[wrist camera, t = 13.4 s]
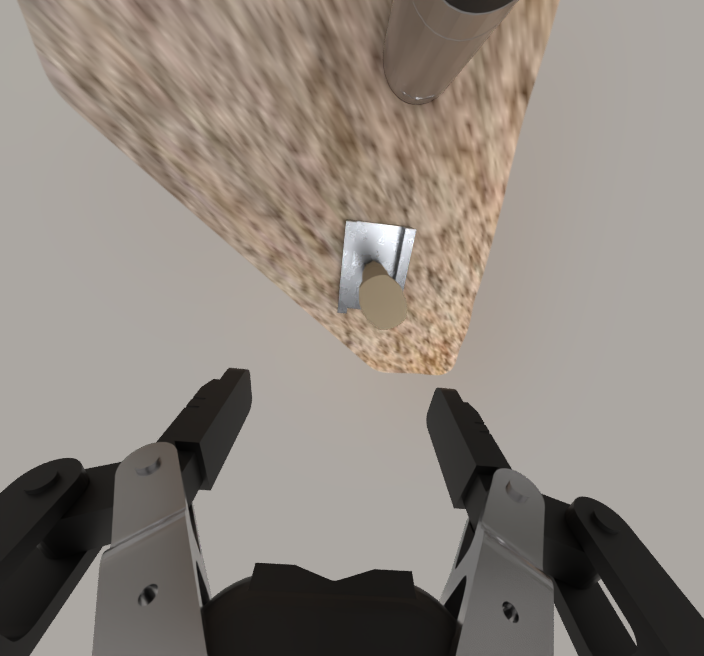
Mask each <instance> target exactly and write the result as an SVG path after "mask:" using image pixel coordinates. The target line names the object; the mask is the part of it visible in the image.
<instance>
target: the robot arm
mask: <svg viewBox="0 0 704 656" xmlns="http://www.w3.org/2000/svg"><path fill="white" fill-rule="evenodd" d="M518 1H519V0H393V4H392V9H391V13H390V18H389V22H388V27H387V32H386V37H385V43H384V50H383V65H384V71H385V76H386V78H387V81H388V84H389V86H390V87H391V89H392V90H393V92H394V93H395V94H396V95H397V96H398V97H399V98H400V99H402V100H403V101H405V102H407V103H411V104H423V103H427V102H430V101H432V100H433V99H435V98H437V97H438V96H439V95H440V94H441V93H442V92H443V91H444V90H445V89H446V88H447V87H448V85H449V84H450V83H451V82H452V81H453V79H454V78H455V77H456V76H457V75H458V74H459V72H460V71H461V70H462V69H463V68H464V66H465V65H466V64H467V63H468V62H469V60H470V59H471V58H472V57H473V55H474V54H475V53H476V52H477V51H478V49H479V48H480V47H481V46H482V45H483V43H484V42H485V41H486V40H487V38H488V37H489V36H490V35H491V34H492V32H493V31H494V30H495V29H496V28H497V26H498V25H499V24H500V23H501V22H502V20H503V19H504V18H505V17H506V15H507V14H508V13H509V12H510V10H511V9H512V8H513V7H514V5H515V4H516V3H517V2H518ZM251 403H252V392H251V380H250V372H249V370H246V369H237V368H229V369H227V371H226V372H225V373H224V375H223V376H222V377H221V379H220V380H219V379H213V380H211V381H210V382H208V383H207V384H205V385H204V386H202V387H201V388H200V389H199V391H198V392H197V393H196V394H195V396H194V397H193V399H192V400H191V401H190V402H189V403H188V404H187V406H186V408H184V409H183V410H182V411H181V413H180V414H179V415H178V416H177V418H176V419H175V420H174V421H173V422H172V424H171V425H170V426H169V427H168V429H167V430H166V431H165V432H164V433H163V435H162V436H161V437H160V438H159V440H158V441H157V442H156V443H151V444H148V445H145V446H143V447H141V448H139V449H137V450H136V451H134V452H132V453H131V454H130V455H129V456H127V457H126V458H125V459H124V460H123V461H122V462H119V463H114V464H109V465H103V466H98V467H94V468H89V469H84V468H83V466H82V464H81V463H80V461H78V460H77V459H74V458H62V459H57V460H53V461H50V462H47V463H44V464H42V465H39V466H37V467H36V468H33V469H31V470H30V471H28V472H27V473H25V474H23V475H22V476H20V477H19V478H17V479H16V480H15V481H14V482H12V483H11V484H10V485H9V486H8V487H7V488H6V489H5V490H3V491H2V492H1V493H0V656H29V655H30V654H31V653H32V651H33V649H34V648H35V646H36V645H37V644H38V642H39V641H40V639H41V638H42V636H43V634H44V633H45V632H46V630H47V629H48V627H49V626H50V624H51V623H52V621H53V620H54V618H55V617H56V615H57V614H58V612H59V611H60V609H61V608H62V606H63V605H64V603H65V602H66V600H67V599H68V597H69V596H70V594H71V593H72V591H73V590H74V588H75V587H76V585H77V584H78V583H79V581H80V580H81V578H82V577H83V575H84V573H85V572H86V571H87V569H88V568H89V566H90V564H91V563H92V562H93V560H94V559H95V557H96V556H97V554H98V553H99V551H100V550H101V548H102V547H103V546H105V545H108V544H111V547H110V549H108V550H106V551H105V552H104V553H103V555H102V558H101V561H100V567H99V578H98V579H99V580H98V591H97V603H96V615H95V627H94V640H93V651H92V656H553V654H554V646H553V644H554V604H555V606H556V608H557V611H558V613H559V615H560V617H561V619H562V621H563V624H564V626H565V628H566V630H567V632H568V634H569V636H570V639H571V641H572V643H573V645H574V647H575V649H576V652H577V654H578V656H704V618H703V617H702V616H701V615H700V614H699V612H698V611H697V610H696V609H695V607H694V606H693V605H692V604H691V603H690V601H689V600H688V599H687V597H686V596H685V595H684V594H683V593H682V591H681V590H680V589H679V588H678V586H677V585H676V584H675V583H674V581H673V580H672V579H671V578H670V576H669V575H668V574H667V573H666V571H665V570H664V569H663V568H662V567H661V565H660V564H659V563H658V561H657V560H656V559H655V558H654V556H653V555H652V554H651V553H650V552H649V550H648V549H647V548H646V547H645V545H644V544H643V543H642V542H641V541H640V540H639V538H638V537H637V535H636V534H635V533H634V532H633V530H632V529H631V528H630V527H629V526H628V524H627V523H626V522H625V521H624V520H623V519H622V518H621V517H620V516H619V515H618V514H616V513H615V512H614V511H613V510H612V509H610V508H609V507H607V506H606V505H604V504H603V503H601V502H599V501H597V500H595V499H592V498H588V497H578V498H577V499H575V500H574V502H573V503H572V504H571V505H570V504H567V503H564V502H562V501H559V500H556V499H554V498H551V497H548V496H546V495H543V494H541V493H540V491H539V490H538V488H537V487H536V486H535V485H534V484H533V483H532V482H531V481H530V480H529V479H528V478H526V477H525V476H523V475H522V474H521V473H519V472H517V471H514V470H512V469H511V467H510V465H509V464H508V462H507V460H506V459H505V457H504V455H503V454H502V452H501V450H500V449H499V447H498V445H497V443H496V442H495V440H494V439H493V437H492V435H491V434H489V430H488V429H487V427H486V425H484V422H483V420H482V418H481V417H480V415H479V414H478V412H477V411H476V410H475V409H474V408H473V407H472V406H471V405H470V404H469V403H468V402H463V401H462V399H461V397H460V395H459V394H458V392H457V391H456V390H455V389H447V388H436V390H435V392H434V395H433V398H432V401H431V404H430V407H429V410H428V413H427V428H428V431H429V434H430V437H431V440H432V443H433V446H434V449H435V452H436V455H437V458H438V462H439V464H440V467H441V471H442V473H443V477H444V480H445V483H446V486H447V489H448V491H449V495H450V498H451V500H452V504H453V507H454V508H459V509H466V511H467V513H468V516H469V518H468V519H467V521H466V524H465V528H464V531H463V534H462V537H461V541H460V544H459V547H458V551H457V554H456V557H455V561H454V564H453V567H452V571H451V573H450V576H449V578H448V581H447V583H446V585H445V588H444V590H443V592H442V595H441V598H440V601H438V600H437V599H435V598H434V597H433V596H431V595H430V594H429V593H427V592H426V591H424V590H422V589H421V588H419V587H417V586H415V585H414V582H413V576H412V571H395V570H378V569H374V570H370V571H367V572H364V573H361V574H357V575H354V576H351V577H348V578H344V579H341V580H337V581H332V580H329V579H327V578H324V577H322V576H320V575H317V574H315V573H313V572H310V571H308V570H305V569H303V568H301V567H299V566H296V565H287V564H269V563H255V567H254V571H253V574H252V576H251V577H247V578H244V579H242V580H240V581H238V582H236V583H234V584H232V585H230V586H229V587H227V588H225V589H224V590H222V591H221V592H220V593H218V594H217V595H216V596H214V597H213V598H211V592H210V587H209V583H208V578H207V574H206V569H205V566H204V561H203V556H202V550H201V545H200V540H199V534H198V529H197V524H196V518H195V512H194V507H193V503H192V501H193V500H194V498H195V496H196V494H197V492H198V490H211V489H212V486H213V484H214V482H215V480H216V478H217V476H218V474H219V472H220V470H221V468H222V466H223V464H224V462H225V460H226V458H227V456H228V454H229V452H230V450H231V448H232V446H233V444H234V442H235V440H236V438H237V436H238V433H239V432H240V430H241V428H242V426H243V423H244V422H245V419H246V417H247V415H248V413H249V411H250V408H251ZM600 579H602V581H603V582H604V584H605V585H606V587H607V589H608V590H609V592H610V594H611V595H612V597H613V598H614V600H615V602H616V603H617V605H618V606H619V608H620V609H621V611H622V613H623V615H624V616H625V617H626V619H627V621H628V623H629V624H630V626H631V628H632V630H633V632H634V635H635V638H636V642H637V646H636V645H635V643H634V641H633V640H632V638H631V636H630V635H629V633H628V631H627V630H626V628H625V626H624V625H623V623H622V621H621V620H620V618H619V617H618V615H617V614H616V611H615V610H614V608H613V607H612V605H611V603H610V602H609V600H608V598H607V597H606V595H605V594H604V592H603V590H602V588H601V587H600V585H599V583H598V581H599V580H600Z"/></svg>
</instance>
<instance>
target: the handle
mask: <svg viewBox="0 0 704 656" xmlns="http://www.w3.org/2000/svg"><path fill="white" fill-rule="evenodd" d="M359 304H360V307H361V310H362V312H363V314H364V316H365V317H366V319H367V320H368V321H369V322H370V323H371V324H372V325H374V326H375V327H376V328H378V329H380V330H388V329H392V328H394V327H396V326H398V325H400V324H401V323H402V322H403V321H404V320H405V319H406V313H407V301H406V298H405V296H404V293H403V291H402V289H401V287H400V285H399V284H398V283H397V282H396V281H395V280H394V279H393V278H392V277H391V276H389V274H388V272H387V270H386V269H385V268H384V267H383V266H382V265H381V264H379V263H377V262H376V261H372V262H371V263H369V264H366V265H365V266H364V270H363V273H362V283H361V284H360V286H359Z"/></svg>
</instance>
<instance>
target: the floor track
mask: <svg viewBox="0 0 704 656" xmlns="http://www.w3.org/2000/svg"><path fill="white" fill-rule="evenodd" d="M415 233H416V229H414V228H411V227H403V226H395V225H387V224H379V223H371V222H363V221H355V220H346V228H345V239H344V249H343V260H342V270H341V281H340V291H339V302H338V312H337V313H347V308H354V309H361V307H360V304H359V286H360V284H361V283H362V273H363V270H364V266H365V265H366V264H369V263H371V262H372V261H376V262H377V263H379V264H381V265H382V266H383V267H384V268H385V269H386V270H387V272H388V274H389V276H391V277H392V278H393V279H394V280H395V281H396V282H397V283H398V284H399V285H400V287H401V289H402V291H403V289H404V284H405V280H406V275H407V270H408V266H409V261H410V256H411V252H412V247H413V242H414V238H415Z"/></svg>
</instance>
